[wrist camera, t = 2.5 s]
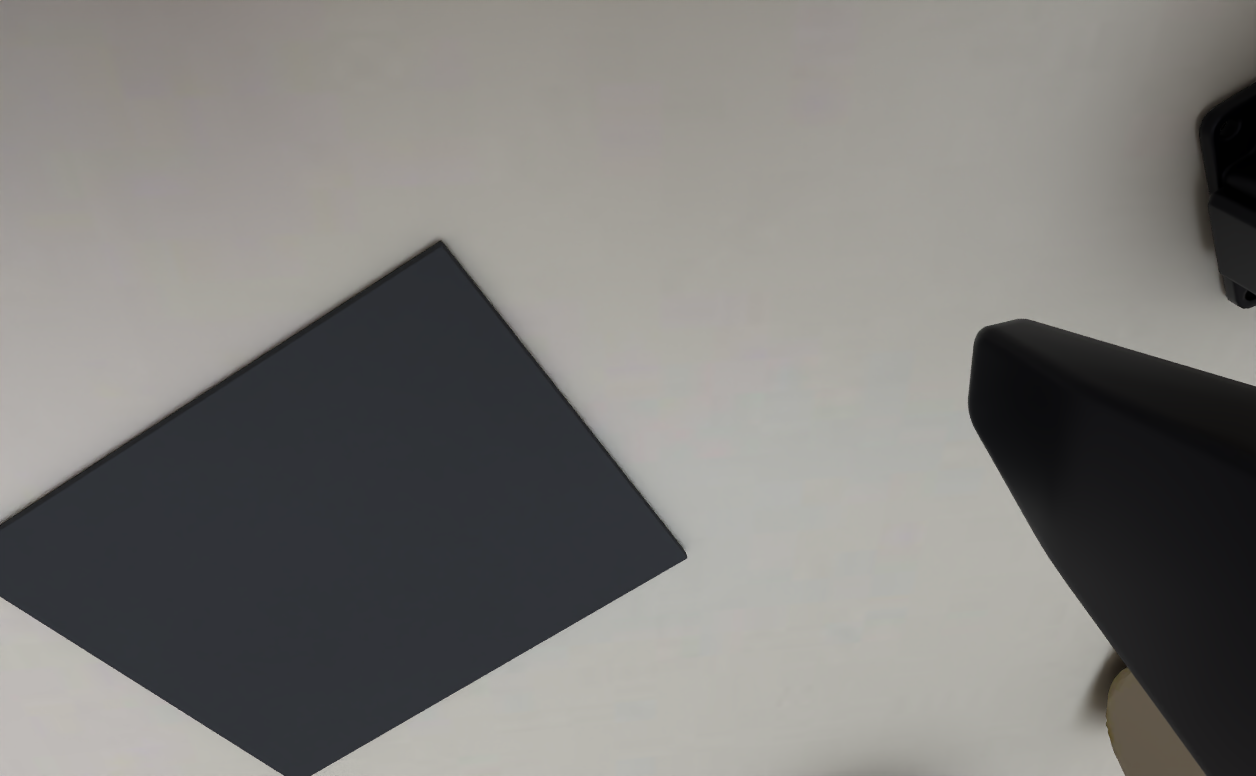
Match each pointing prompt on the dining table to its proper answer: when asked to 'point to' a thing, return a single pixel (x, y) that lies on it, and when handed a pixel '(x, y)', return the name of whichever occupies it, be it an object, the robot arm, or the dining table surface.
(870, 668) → the dining table surface
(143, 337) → the dining table surface
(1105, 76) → the dining table surface
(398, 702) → the mat
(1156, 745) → the mug
